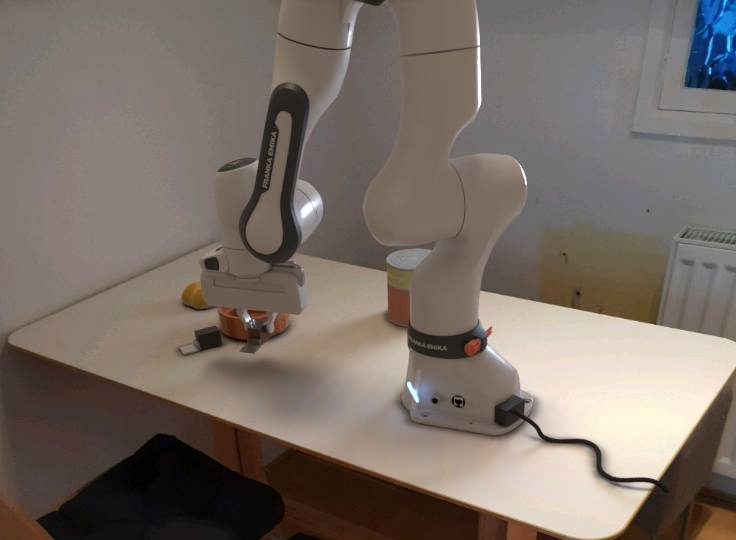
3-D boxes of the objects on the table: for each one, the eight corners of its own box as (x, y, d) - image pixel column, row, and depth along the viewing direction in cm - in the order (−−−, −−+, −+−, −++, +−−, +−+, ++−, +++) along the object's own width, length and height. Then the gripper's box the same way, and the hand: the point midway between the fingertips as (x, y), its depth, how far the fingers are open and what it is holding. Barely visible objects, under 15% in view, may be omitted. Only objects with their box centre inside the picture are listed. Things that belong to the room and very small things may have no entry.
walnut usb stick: (259, 334, 155) (257, 318, 153) (273, 335, 154) (271, 320, 152) (239, 352, 149) (236, 336, 147) (253, 354, 148) (251, 337, 146)
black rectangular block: (217, 339, 164) (215, 324, 162) (222, 345, 162) (220, 330, 160) (179, 349, 162) (176, 334, 160) (184, 355, 159) (181, 340, 158)
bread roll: (204, 313, 175) (201, 295, 172) (176, 304, 179) (173, 286, 177) (232, 299, 180) (229, 282, 177) (204, 291, 184) (201, 273, 182)
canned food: (449, 322, 165) (451, 264, 158) (396, 330, 163) (394, 272, 156) (432, 300, 174) (433, 245, 166) (381, 308, 172) (379, 252, 165)
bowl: (303, 320, 169) (301, 297, 166) (261, 347, 160) (258, 324, 157) (250, 307, 176) (247, 285, 173) (207, 333, 167) (203, 310, 164)
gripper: (310, 255, 142) (317, 329, 151) (208, 247, 149) (220, 318, 157) (295, 268, 138) (303, 344, 146) (191, 259, 145) (204, 332, 153)
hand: (259, 330), depth 152 cm, fingers closed on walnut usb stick, 2 cm apart
